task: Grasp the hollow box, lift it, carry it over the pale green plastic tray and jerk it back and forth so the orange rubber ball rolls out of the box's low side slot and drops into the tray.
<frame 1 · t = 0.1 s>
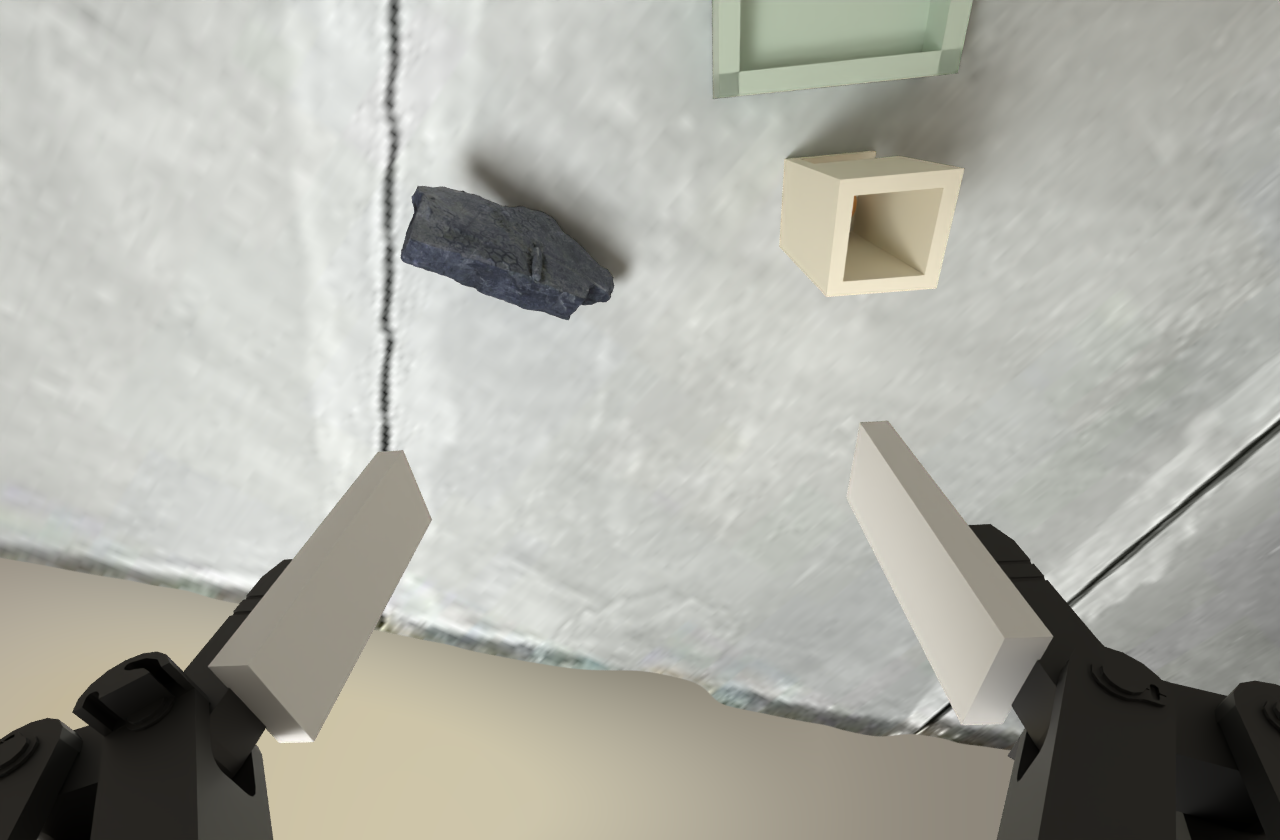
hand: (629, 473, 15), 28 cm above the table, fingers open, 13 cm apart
hollow box: (823, 200, 36), on the table, touching ball
stone: (531, 240, 38), on the table
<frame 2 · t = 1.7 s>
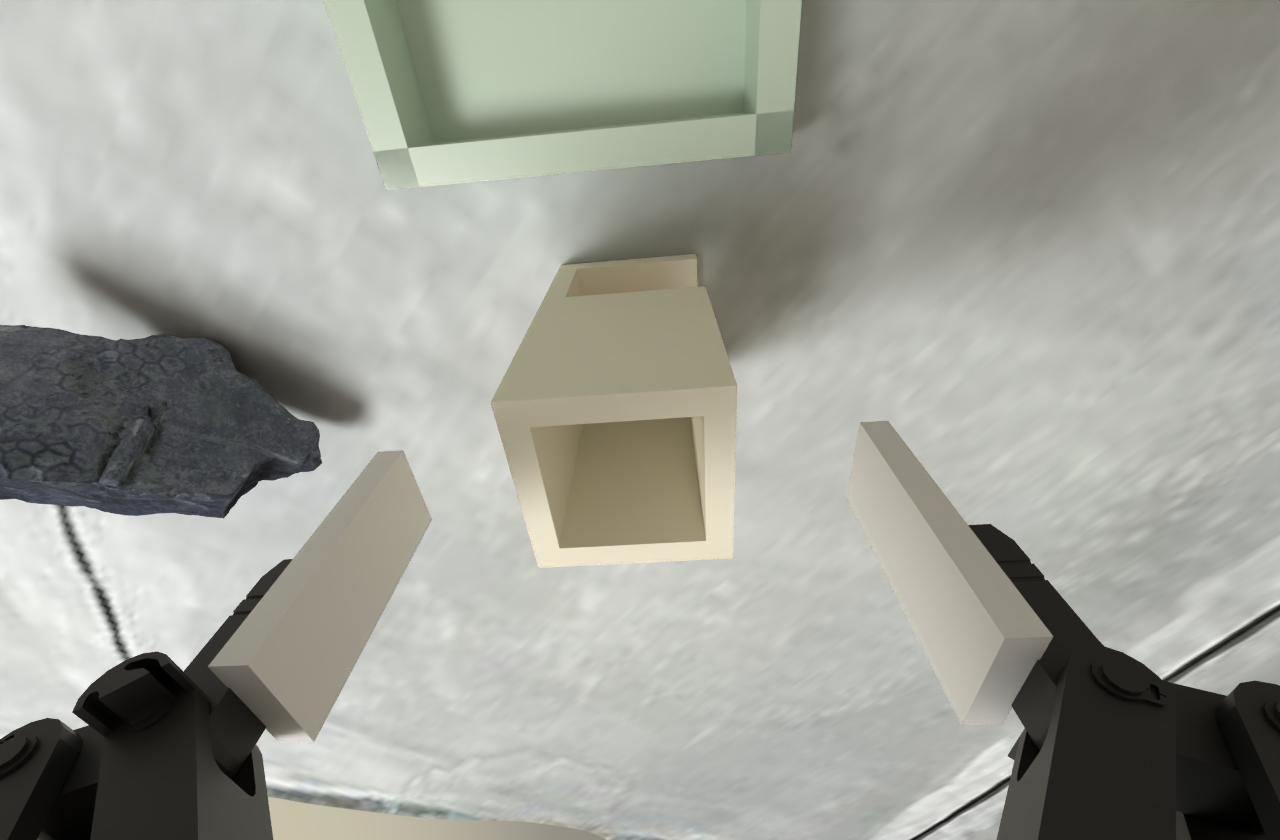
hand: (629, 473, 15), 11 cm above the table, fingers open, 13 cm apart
hollow box: (633, 322, 24), on the table, touching ball
stone: (211, 372, 26), on the table
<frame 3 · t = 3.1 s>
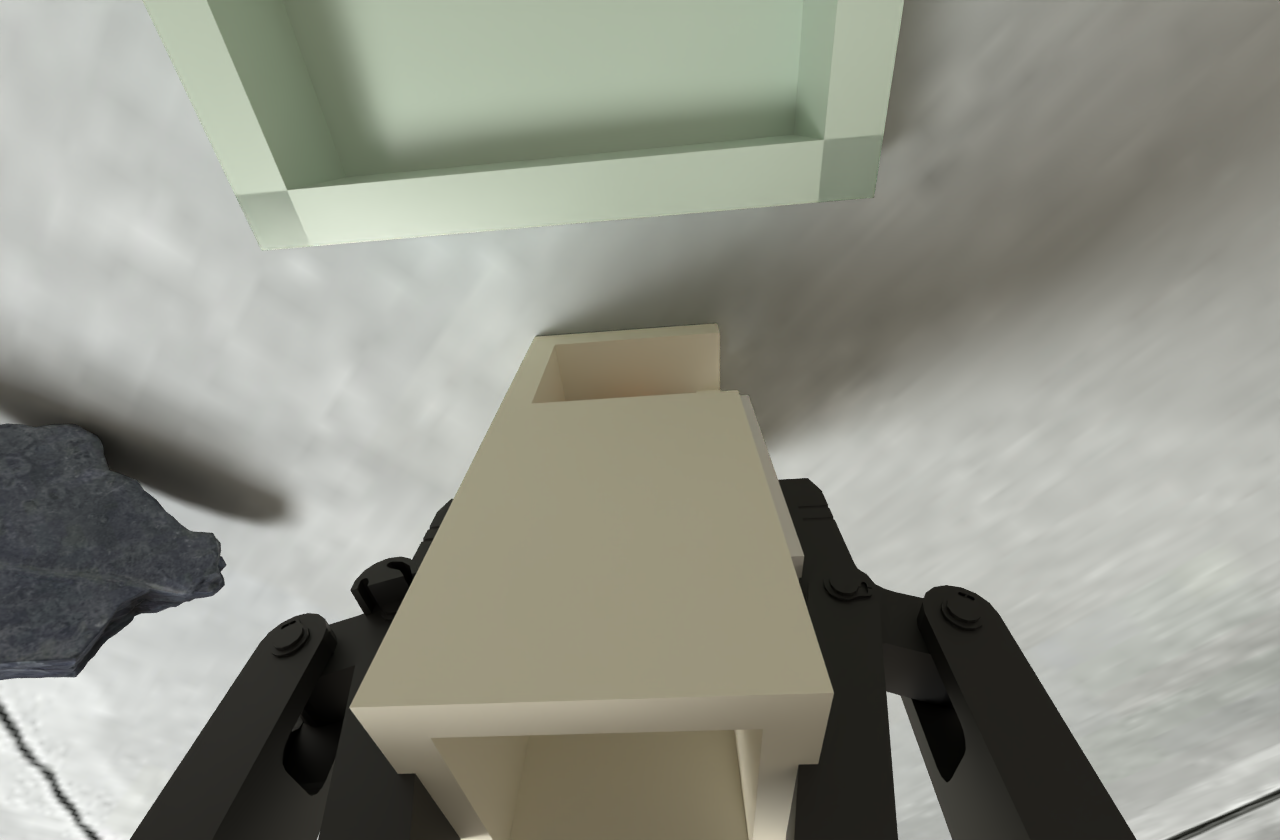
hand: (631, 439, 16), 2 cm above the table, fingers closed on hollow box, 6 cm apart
hollow box: (633, 408, 18), on the table, touching ball, gripper
stone: (87, 462, 20), on the table
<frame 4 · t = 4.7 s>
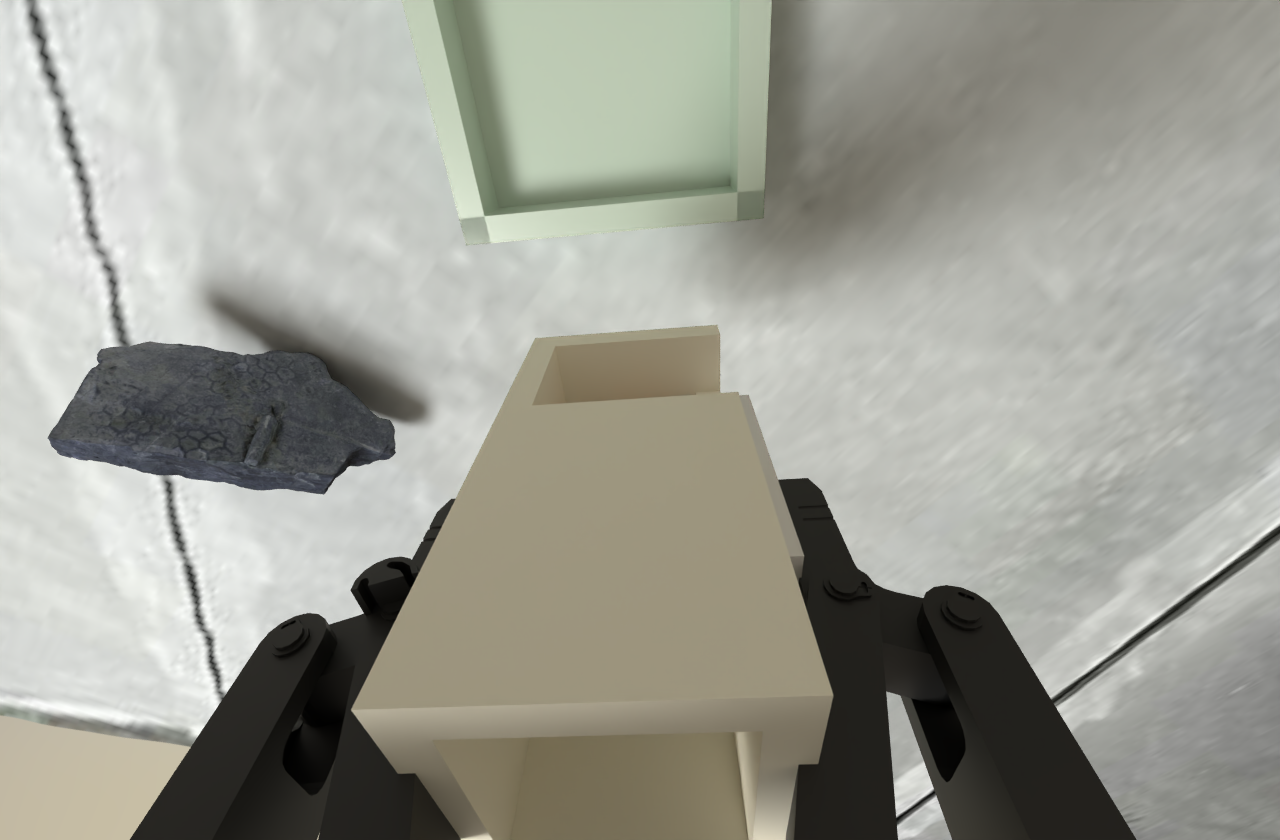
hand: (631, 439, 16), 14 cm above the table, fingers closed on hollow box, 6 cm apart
hollow box: (633, 409, 18), point 12 cm above the table, touching ball, gripper
stone: (306, 380, 32), on the table
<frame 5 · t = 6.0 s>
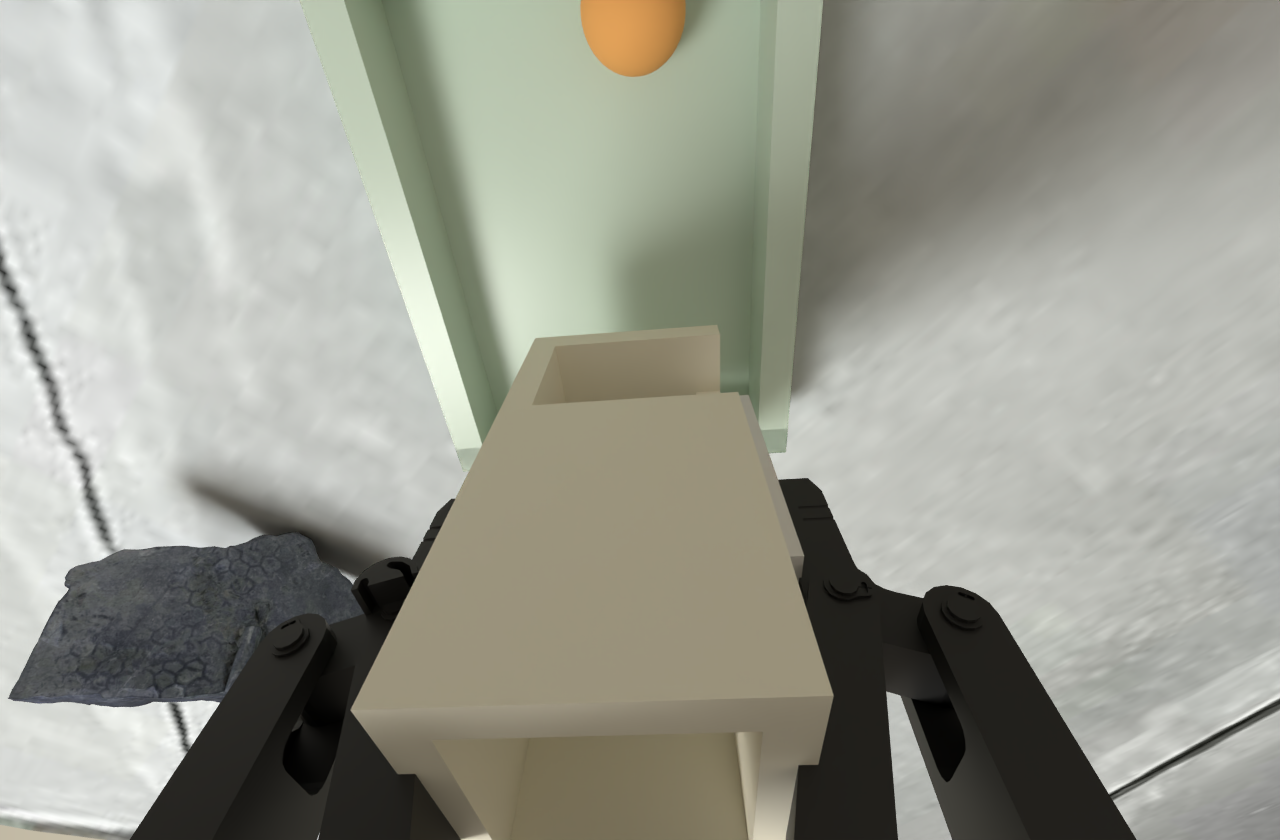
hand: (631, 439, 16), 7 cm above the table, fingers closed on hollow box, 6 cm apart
hollow box: (633, 409, 18), point 5 cm above the table, touching gripper
ball: (625, 31, 13), point 4 cm above the table, tilted 157°, touching tray
stone: (294, 551, 30), on the table
tray: (601, 226, 20), on the table
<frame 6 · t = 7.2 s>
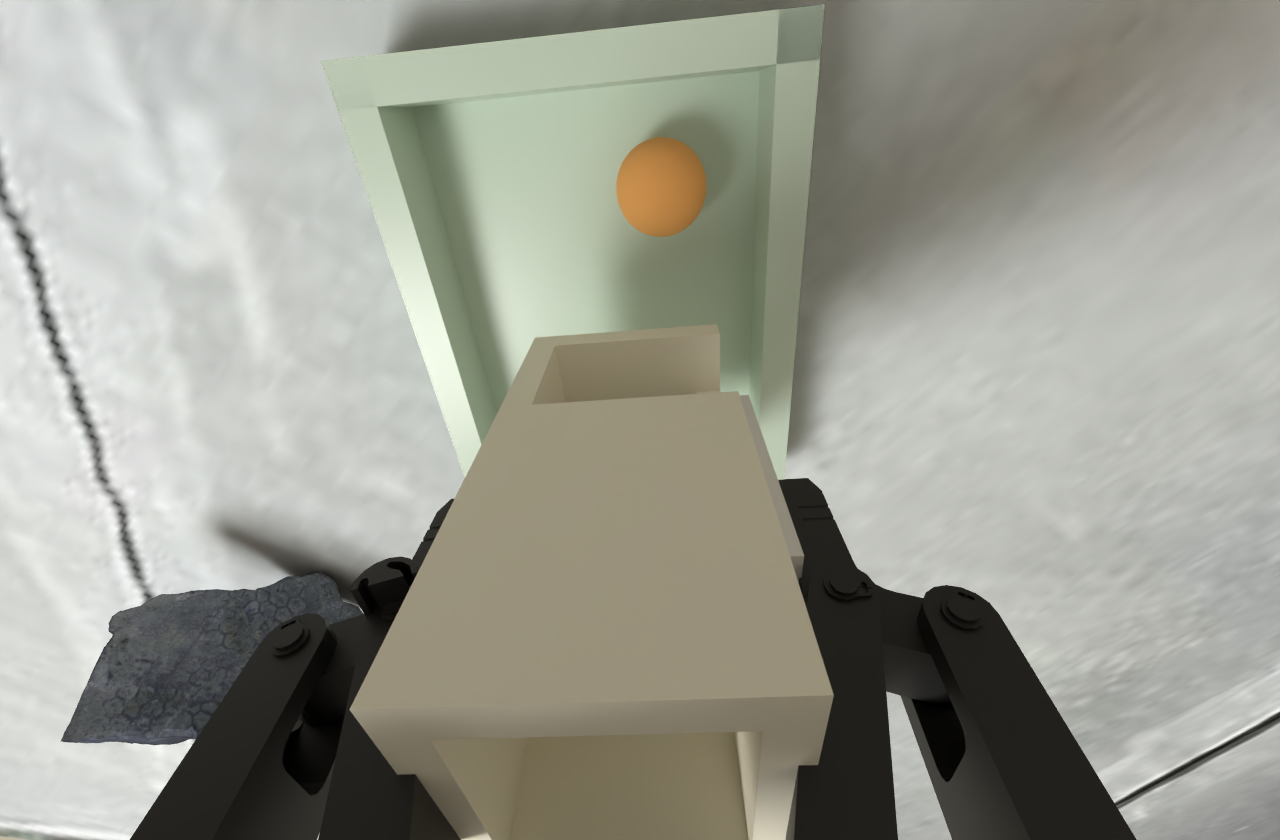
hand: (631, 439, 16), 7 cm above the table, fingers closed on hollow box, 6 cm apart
hollow box: (633, 409, 18), point 5 cm above the table, touching gripper
ball: (666, 236, 17), point 3 cm above the table, tilted 107°, touching tray
stone: (316, 588, 32), on the table
tray: (611, 307, 21), on the table
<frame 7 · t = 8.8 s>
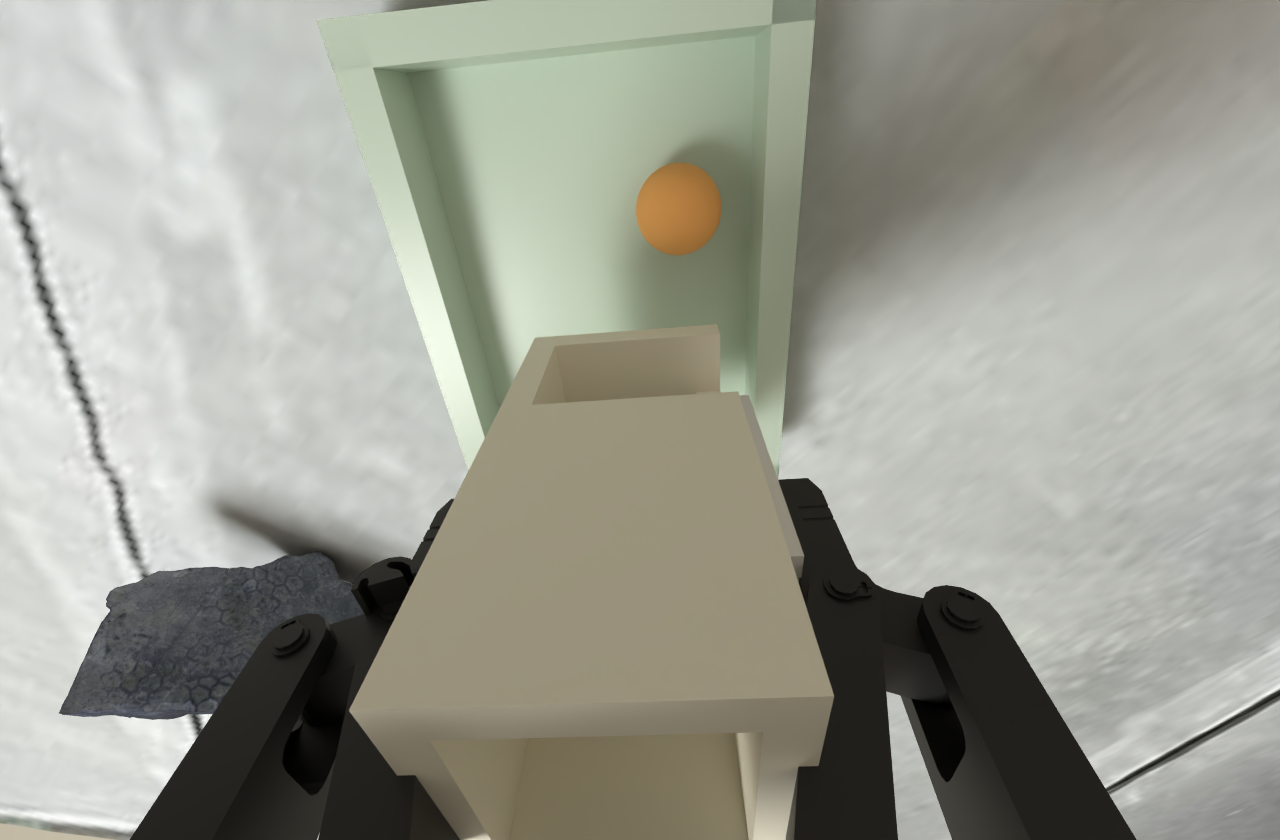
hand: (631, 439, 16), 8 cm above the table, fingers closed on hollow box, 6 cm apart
hollow box: (633, 409, 18), point 6 cm above the table, touching gripper
ball: (675, 230, 19), point 1 cm above the table, tilted 38°, touching tray
stone: (314, 569, 32), on the table
tray: (608, 280, 21), on the table
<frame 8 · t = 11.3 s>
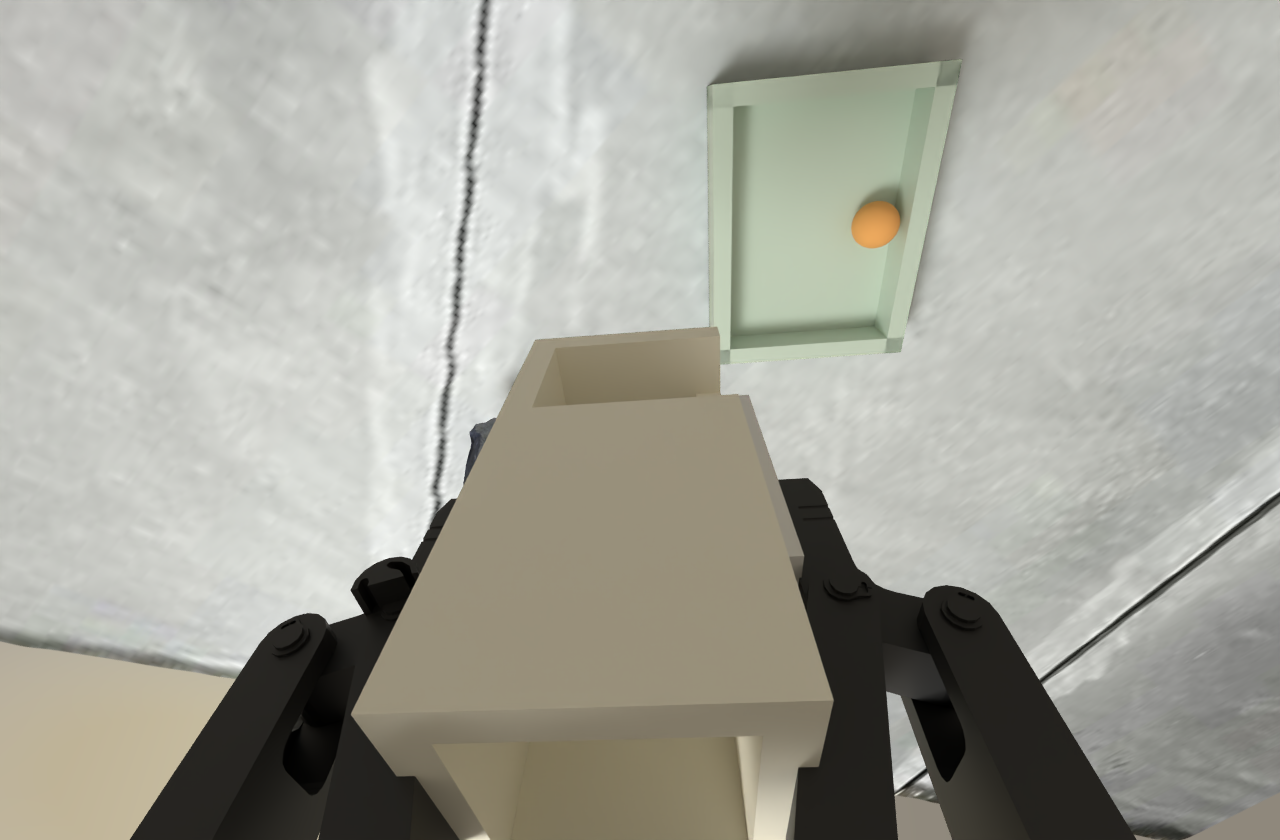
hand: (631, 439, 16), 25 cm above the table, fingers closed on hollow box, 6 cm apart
hollow box: (633, 411, 18), point 23 cm above the table, touching gripper
ball: (863, 206, 33), point 2 cm above the table, tilted 79°, touching tray
stone: (560, 435, 46), on the table
tray: (805, 225, 36), on the table
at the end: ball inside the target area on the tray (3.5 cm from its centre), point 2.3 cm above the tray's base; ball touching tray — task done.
